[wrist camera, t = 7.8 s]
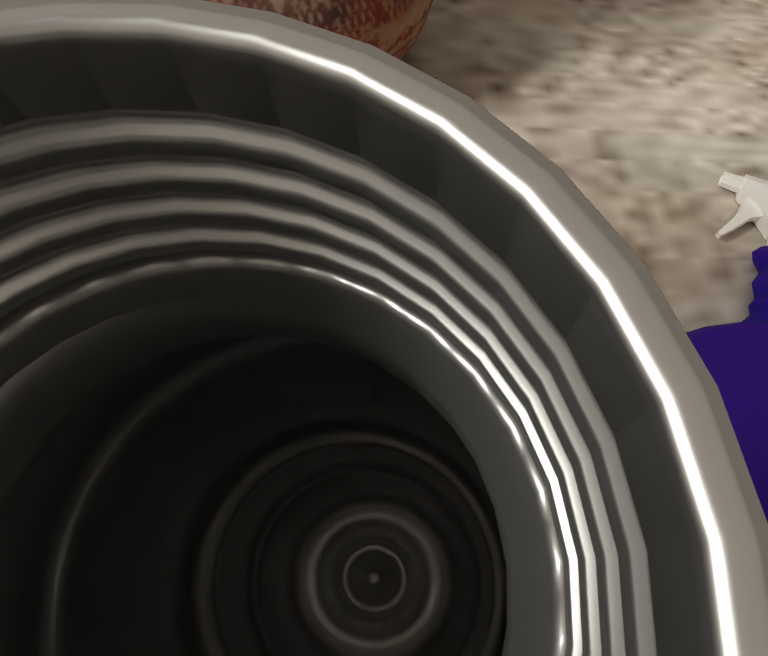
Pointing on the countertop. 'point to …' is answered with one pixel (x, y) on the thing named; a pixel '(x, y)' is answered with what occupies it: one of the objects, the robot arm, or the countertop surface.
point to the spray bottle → (744, 342)
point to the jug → (355, 18)
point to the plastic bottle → (333, 367)
